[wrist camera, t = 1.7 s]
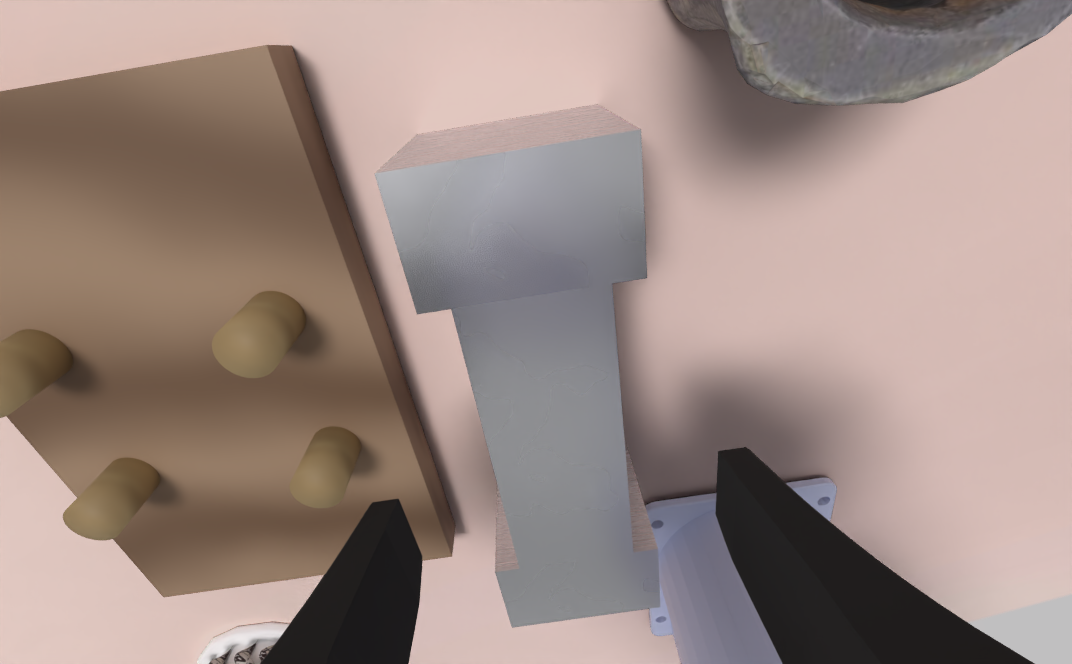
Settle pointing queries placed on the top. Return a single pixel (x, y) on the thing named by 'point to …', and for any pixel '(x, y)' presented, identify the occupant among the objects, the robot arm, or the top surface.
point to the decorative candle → (243, 644)
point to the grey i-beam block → (539, 338)
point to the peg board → (200, 324)
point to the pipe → (869, 43)
